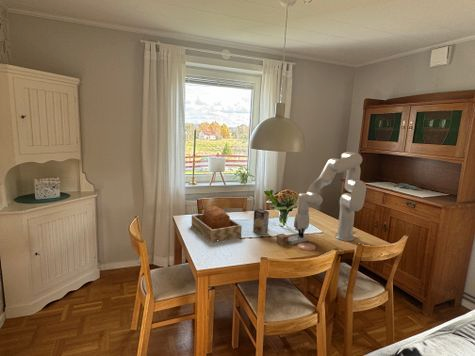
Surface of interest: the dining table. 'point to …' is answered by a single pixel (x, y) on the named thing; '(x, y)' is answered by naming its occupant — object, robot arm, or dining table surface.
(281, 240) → the walnut block
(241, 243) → the dining table surface
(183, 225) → the dining table surface
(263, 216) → the coffee box
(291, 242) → the channel
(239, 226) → the bread crate
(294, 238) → the push bar
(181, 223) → the dining table surface
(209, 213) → the bread
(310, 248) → the coaster
